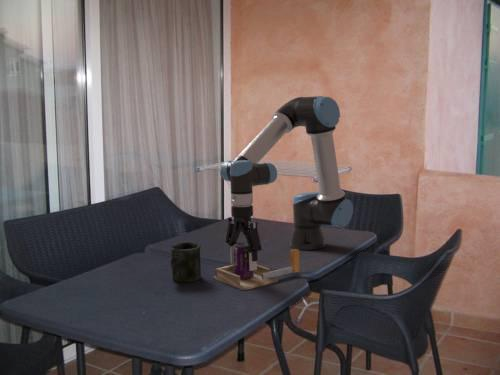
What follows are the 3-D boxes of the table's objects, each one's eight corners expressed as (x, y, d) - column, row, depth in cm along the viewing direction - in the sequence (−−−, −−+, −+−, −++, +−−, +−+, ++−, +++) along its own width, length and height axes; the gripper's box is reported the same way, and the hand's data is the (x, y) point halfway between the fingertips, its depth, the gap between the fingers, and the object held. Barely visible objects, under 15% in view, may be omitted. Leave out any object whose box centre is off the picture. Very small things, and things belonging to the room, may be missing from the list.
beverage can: (251, 280, 209) (250, 246, 207) (231, 279, 210) (230, 246, 209) (255, 274, 216) (254, 242, 214) (236, 274, 217) (235, 241, 216)
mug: (207, 275, 219) (206, 243, 217) (187, 287, 206) (185, 253, 204) (182, 272, 224) (180, 241, 222) (160, 283, 210) (158, 250, 209)
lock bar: (295, 270, 219) (295, 248, 218) (299, 271, 218) (299, 249, 216) (260, 278, 209) (260, 256, 208) (264, 280, 208) (263, 257, 207)
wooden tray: (247, 270, 224) (246, 260, 224) (278, 281, 210) (278, 271, 209) (213, 278, 215) (213, 268, 215) (243, 290, 201) (243, 279, 200)
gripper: (214, 202, 216) (216, 262, 219) (253, 210, 198) (255, 275, 201) (231, 199, 221) (233, 258, 224) (271, 207, 203) (272, 271, 206)
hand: (243, 266), depth 213 cm, fingers open, 10 cm apart
